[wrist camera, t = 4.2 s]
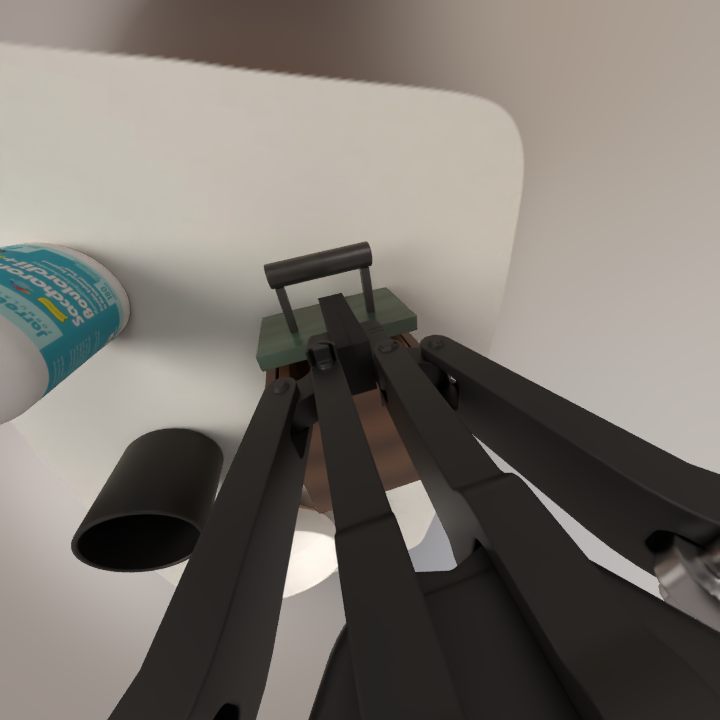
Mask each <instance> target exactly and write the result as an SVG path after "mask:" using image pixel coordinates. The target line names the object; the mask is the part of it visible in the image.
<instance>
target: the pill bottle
mask: <svg viewBox="0 0 720 720" xmlns="http://www.w3.org/2000/svg"><path fill="white" fill-rule="evenodd" d="M129 315H130V304H129V300H128V297H127V294H126V292H125V290H124V288H123V287H122V285H121V284H120V282H119V281H118V280H117V279H116V277H115V276H114V275H113V274H112V273H111V272H110V271H109V270H108V269H106V268H105V267H104V266H103V265H101V264H100V263H99V262H97V261H95V260H94V259H92V258H91V257H89V256H87V255H85V254H83V253H81V252H78V251H76V250H73V249H70V248H67V247H64V246H60V245H55V244H49V243H24V244H17V245H12V246H6V247H1V248H0V424H3V423H5V422H8V421H10V420H12V419H14V418H16V417H18V416H19V415H21V414H22V413H24V412H25V411H27V410H28V409H29V408H30V407H32V406H33V405H34V404H35V403H37V402H38V401H39V400H40V399H41V398H43V397H44V396H45V395H46V394H47V393H49V392H50V391H51V390H52V389H53V388H55V387H56V386H57V385H58V384H59V383H61V382H62V381H63V380H64V379H65V378H67V377H68V376H69V375H70V374H71V373H73V372H74V371H75V370H76V369H77V368H79V367H80V366H81V365H82V364H83V363H85V362H86V361H87V360H88V359H89V358H91V357H92V356H93V355H94V354H95V353H97V352H98V351H99V350H100V349H102V348H103V347H104V346H105V345H106V344H107V343H109V342H110V341H111V340H112V339H113V338H115V337H116V336H117V335H118V334H119V333H120V332H121V331H122V330H123V329H124V328H125V326H126V324H127V322H128V319H129Z"/></svg>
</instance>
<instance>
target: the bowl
mask: <svg viewBox="0 0 720 720" xmlns="http://www.w3.org/2000/svg"><path fill="white" fill-rule="evenodd" d="M335 533H336V528H335V526H334V525H333V523H332V521H331V520H330V519H329V518H328V517H327V516H325V515H323V514H321V513H320V514H319V513H318V511H316V510H314V509H312V508H310V507H306V506H303V505H299V510H298V515H297V521H296V526H295V532H294V537H293V543H292V549H291V554H290V560H289V565H288V571H287V576H286V582H285V587H284V593H283V598H286V597H289V596H292V595H295V594H298V593H300V592H303V591H305V590H307V589H309V588H311V587H313V586H314V585H316V584H318V583H320V582H321V581H323V580H324V579H325V578H327V577H328V576H330V575H331V574H332V573H333V572H334V571H335V570H336V569H337V567H338V563H337V557H336V549H335V538H334V535H335ZM283 598H282V599H283Z"/></svg>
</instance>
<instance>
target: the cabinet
mask: <svg viewBox="0 0 720 720" xmlns="http://www.w3.org/2000/svg"><path fill="white" fill-rule="evenodd" d="M399 335H400V337H401V338H402V339H403V340H404V342H405V343H406V344H407V345H408V347H420V344H419V343H418V342H417V341H416V340H415V338H414V337H413V336H412V335H411V334H410V333H409V332H406V333H403V334H399ZM276 379H279V367H278V368H274V369H270V370H267V373H266V384H265V388H266V387H267V385H268V384H270V383H271V382H272V381H274V380H276ZM376 383H377V382H376ZM352 397H353V400H354V403H355V406H356V409H357V412H358V415H359V418H360V420H361V423H362V426H363V429H364V432H365V435H366V438H367V441H368V444H369V447H370V449H371V452H372V455H373V458H374V461H375V464H376V467H377V470H378V473H379V476H380V478H381V481H382V484H383V487H384V490H385V491H388V490H391V489H394V488H397V487H400V486H403V485H406V484H409V483H412V482H415V481H418V480H421V479H420V477H419V475H418V473H417V471H416V469H415V467H414V465H413V463H412V460H411V458H410V456H409V454H408V452H407V450H406V448H405V446H404V444H403V442H402V440H401V437H400V435H399V433H398V431H397V429H396V427H395V425H394V423H393V421H392V419H391V416H390V414H389V412H388V410H387V408H386V406H385V404H384V406H385V407H382V402H381V396H380V390H379V386H378V384H377V389H375V390H371V391H368V392H364V393H361V394H358V395H354V396H352ZM303 483H304V485H305V487H306V489H307V491H308V493H309V495H310V497H311V499H312V501H313V503H314V505H315V507H316V509H317V511H318V513H319V514H320V513H323V512H326V511H329V510H332V509H333V507H332V501H331V495H330V488H329V482H328V476H327V470H326V463H325V457H324V451H323V445H322V438H321V432H320V426H319V421H318V422H316V423H315V424H313V432H312V438H311V443H310V449H309V454H308V460H307V466H306V471H305V477H304V482H303Z"/></svg>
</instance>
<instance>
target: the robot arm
mask: <svg viewBox="0 0 720 720" xmlns="http://www.w3.org/2000/svg"><path fill="white" fill-rule="evenodd" d="M318 300H319V303H320V307H321V311H322V315H323V318H324V322H325V326H326V330H327V332H325V333H321V334H317V335H313V336H310V338H309V340H308V348H307V349H306V351H305V354H306V357H307V360H308V363H309V366H310V372H309V373H308V374H307V375H306V376H305V377H303V378H302V379H300V380H298V381H295V380H294V378H291V377H283V378H279V379H276V380H274V381H272V382H271V383H270V384H268V385H267V387H266V388H265V390H264V392H263V394H262V397H261V399H260V401H259V403H258V406H257V408H256V410H255V412H254V415H253V417H252V419H251V421H250V424H249V426H248V428H247V430H246V433H245V435H244V437H243V439H242V442H241V444H240V446H239V448H238V451H237V453H236V455H235V457H234V460H233V462H232V464H231V466H230V469H229V471H228V473H227V475H226V478H225V480H224V482H223V484H222V487H221V489H220V491H219V493H218V496H217V498H216V500H215V502H214V505H213V507H212V509H211V511H210V514H209V516H208V518H207V520H206V523H205V525H204V527H203V529H202V532H201V534H200V536H199V538H198V541H197V543H196V545H195V547H194V550H193V552H192V554H191V556H190V559H189V561H188V563H187V565H186V568H185V570H184V572H183V574H182V577H181V579H180V581H179V583H178V586H177V588H176V590H175V592H174V595H173V597H172V599H171V602H170V604H169V606H168V608H167V610H166V613H165V615H164V617H163V620H162V622H161V624H160V626H159V629H158V631H157V633H156V635H155V638H154V640H153V642H152V644H151V647H150V649H149V651H148V653H147V656H146V658H145V660H144V662H143V664H142V667H141V669H140V671H139V672H138V674H137V676H136V677H135V679H134V680H133V682H132V683H131V685H130V686H129V688H128V689H127V691H126V693H125V694H124V695H123V697H122V698H121V700H120V701H119V703H118V704H117V706H116V708H115V709H114V710H113V712H112V714H111V715H110V717H109V718H108V720H256V717H257V714H258V710H259V707H260V703H261V699H262V696H263V693H264V689H265V686H266V681H267V677H268V672H269V667H270V663H271V658H272V654H273V648H274V643H275V636H276V631H277V626H278V620H279V615H280V609H281V604H282V598H283V593H284V587H285V582H286V576H287V571H288V565H289V560H290V554H291V549H292V543H293V537H294V532H295V526H296V521H297V515H298V510H299V504H300V499H301V493H302V488H303V482H304V477H305V471H306V466H307V460H308V454H309V449H310V443H311V438H312V432H313V424H315V423H316V422H318V421H319V426H320V432H321V438H322V445H323V451H324V457H325V463H326V470H327V476H328V482H329V488H330V495H331V501H332V507H333V513H334V519H335V526H336V533H335V535H334V538H335V549H336V557H337V563H338V570H339V577H340V583H341V590H342V597H343V603H344V610H345V616H346V624H345V625H344V627H343V629H342V630H341V632H340V634H339V636H338V638H337V639H336V642H335V644H334V646H333V648H332V651H331V653H330V656H329V659H328V661H327V664H326V668H325V671H324V674H323V677H322V680H321V683H320V686H319V689H318V692H317V695H316V698H315V701H314V704H313V707H312V710H311V713H310V716H309V719H308V720H720V474H717V473H714V472H711V471H709V470H706V469H703V468H700V467H697V466H694V465H691V464H689V463H687V462H685V461H683V460H681V459H679V458H677V457H675V456H674V455H672V454H670V453H668V452H666V451H664V450H662V449H660V448H658V447H656V446H654V445H652V444H651V443H649V442H646V441H645V440H643V439H641V438H639V437H637V436H635V435H633V434H631V433H629V432H628V431H626V430H624V429H622V428H620V427H618V426H616V425H614V424H612V423H610V422H608V421H607V420H605V419H603V418H601V417H599V416H597V415H595V414H593V413H591V412H589V411H587V410H586V409H584V408H581V407H580V406H578V405H576V404H574V403H572V402H570V401H568V400H566V399H564V398H563V397H561V396H558V395H557V394H555V393H553V392H551V391H549V390H547V389H545V388H543V387H541V386H540V385H538V384H536V383H534V382H532V381H530V380H528V379H526V378H524V377H522V376H520V375H519V374H516V373H514V372H513V371H511V370H509V369H507V368H505V367H503V366H501V365H499V364H497V363H496V362H494V361H492V360H490V359H488V358H486V357H484V356H482V355H480V354H478V353H476V352H475V351H473V350H471V349H469V348H467V347H465V346H463V345H461V344H459V343H457V342H455V341H453V340H452V339H450V338H448V337H445V336H441V335H431V336H428V337H425V338H424V339H422V340H421V342H420V347H404V346H403V345H402V344H401V343H400V342H399V341H396V340H392V339H391V338H390V336H389V335H388V334H387V332H386V331H385V330H384V328H383V327H382V326H381V324H380V323H379V322H378V321H375V320H373V319H372V320H368V321H364V322H360V323H359V322H358V320H357V318H356V317H355V315H354V313H353V312H352V310H351V308H350V307H349V305H348V303H347V301H346V300H345V298H344V296H343V295H342V293H339V294H335V295H331V296H327V297H323V298H319V299H318ZM451 377H453V378H454V379H455V380H456V381H454V380H452V379H451ZM376 382H377V383H376ZM377 384H378V386H379V390H380V396H381V402H382V407H385V406H386V408H387V410H388V412H389V414H390V416H391V419H392V421H393V423H394V425H395V427H396V429H397V431H398V433H399V435H400V437H401V440H402V442H403V444H404V446H405V448H406V450H407V452H408V454H409V456H410V458H411V460H412V463H413V465H414V467H415V469H416V471H417V473H418V475H419V477H420V479H421V481H422V484H423V486H424V488H425V490H426V492H427V494H428V496H429V498H430V500H431V502H432V504H433V507H434V509H435V511H436V513H437V515H438V517H439V519H440V521H441V523H442V525H443V528H444V530H445V532H446V534H447V536H448V538H449V541H450V544H451V547H452V551H453V554H454V558H455V560H456V563H457V567H456V568H454V569H452V570H450V571H434V572H433V571H432V572H415V570H414V567H413V564H412V562H411V559H410V556H409V553H408V550H407V547H406V544H405V542H404V539H403V536H402V533H401V530H400V528H399V525H398V522H397V519H396V517H395V515H394V513H393V512H392V510H391V507H390V504H389V502H388V499H387V496H386V493H385V490H384V487H383V484H382V481H381V478H380V476H379V473H378V470H377V467H376V464H375V461H374V458H373V455H372V452H371V449H370V447H369V444H368V441H367V438H366V435H365V432H364V429H363V426H362V423H361V420H360V418H359V415H358V412H357V409H356V406H355V403H354V400H353V397H352V396H354V395H358V394H361V393H364V392H368V391H371V390H375V389H377ZM384 404H385V406H384ZM472 434H473V435H474V436H475V437H477V438H478V439H479V440H480V441H481V442H483V443H484V444H485V445H486V446H487V447H489V448H490V449H491V450H492V451H493V452H495V453H496V454H497V455H498V456H499V457H501V458H502V459H503V460H504V461H505V462H507V463H508V464H509V465H510V466H511V467H513V468H514V469H515V470H516V471H517V472H519V473H520V474H521V475H522V476H523V477H525V478H526V479H527V480H528V481H530V482H531V483H532V484H533V485H534V486H535V487H537V488H538V489H539V490H540V491H541V492H543V493H544V494H545V495H546V496H547V497H549V498H550V499H551V500H552V501H553V502H555V503H556V504H557V505H558V506H560V507H561V508H562V509H563V510H564V511H566V512H567V513H568V514H569V515H570V516H571V517H573V518H574V519H575V520H576V521H577V522H579V523H580V524H581V525H582V526H583V527H585V528H586V529H587V530H588V531H590V532H591V533H592V534H593V535H595V536H596V537H597V538H599V539H600V540H601V541H602V542H604V543H605V544H606V545H608V546H609V547H610V548H612V549H613V550H614V551H616V552H617V553H619V554H620V555H622V556H623V557H625V558H626V559H628V560H629V561H631V562H632V563H634V564H635V565H637V566H638V567H640V568H641V569H643V570H645V571H647V572H648V573H650V574H652V575H653V576H655V577H657V579H658V581H659V583H660V584H659V591H660V594H661V596H662V597H663V599H664V601H663V600H661V599H659V598H658V597H655V596H654V595H652V594H650V593H648V592H647V591H645V590H643V589H641V588H639V587H638V586H636V585H634V584H632V583H631V582H629V581H627V580H625V579H623V578H622V577H620V576H618V575H616V574H614V573H613V572H611V571H609V570H607V569H606V568H604V567H602V566H600V565H598V564H597V563H595V562H593V561H591V560H589V559H588V557H587V556H586V555H585V554H584V553H583V551H582V550H581V549H580V548H579V547H578V546H577V544H576V543H575V542H574V541H573V539H572V538H571V537H570V536H569V535H568V533H567V532H566V531H565V530H564V529H563V528H562V526H561V525H560V524H559V523H558V521H557V520H556V519H555V518H554V517H553V515H552V514H551V513H550V512H549V511H548V509H547V508H546V507H545V506H544V505H543V504H542V503H541V501H540V500H539V499H538V497H536V495H535V494H534V493H533V491H532V490H531V489H530V488H529V487H528V485H527V484H526V483H525V482H524V481H523V480H522V479H521V478H520V477H519V476H517V475H515V474H513V473H504V472H503V471H501V470H500V469H499V468H498V467H497V465H496V464H495V463H494V462H493V460H492V459H491V458H490V457H489V455H488V454H487V453H486V452H485V450H484V449H483V448H482V446H481V445H480V444H479V442H478V441H477V440H476V439H475V437H474V436H473V435H472ZM695 618H696V619H695Z"/></svg>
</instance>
